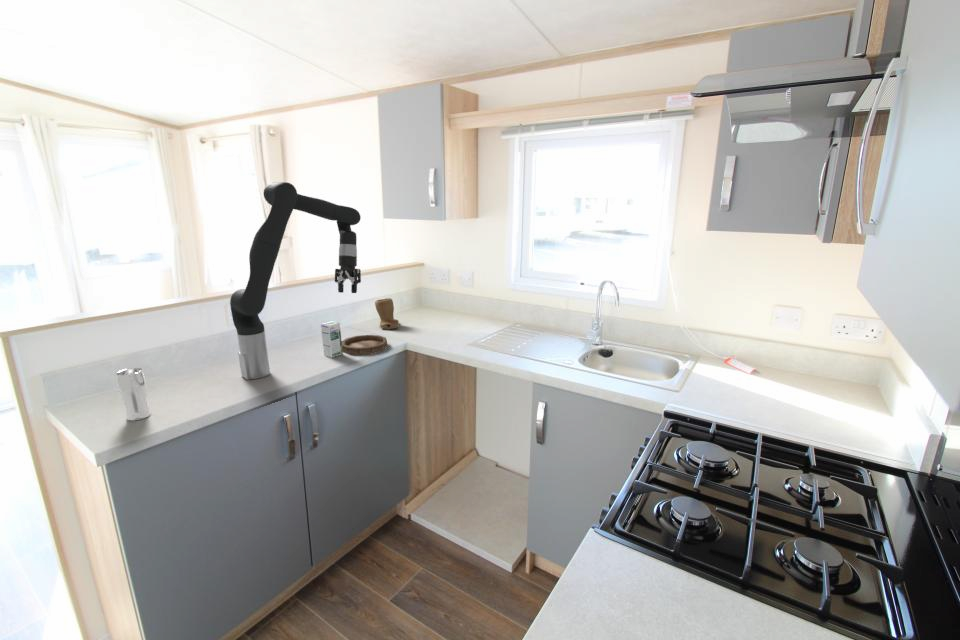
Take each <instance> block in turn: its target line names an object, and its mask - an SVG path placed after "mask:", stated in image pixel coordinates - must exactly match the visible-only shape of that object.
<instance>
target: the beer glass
mask: <svg viewBox="0 0 960 640" xmlns="http://www.w3.org/2000/svg"><path fill="white" fill-rule="evenodd" d="M115 377H116V384H117V389H118V394H119V395H120V397H121V400H122V401H123V404H124V407H125V410H126V411H125V412H126V420H127V421H129V420H130V421H129V422H135V420H137V421H139V420H144V419H146V417H147V418H149V417H150V416H151V414H152V412H151V410H150V408H149V406H148V400H147V397H148V395H147V394H148V393H147V392H148V387H147V380H146V377H145V374H144V369H143V368H141V367H131V368H130V367H129V368H125V369H122V370H119V371H117V372H116V373H115Z"/></svg>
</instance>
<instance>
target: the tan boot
mask: <svg viewBox="0 0 960 640" xmlns="http://www.w3.org/2000/svg"><path fill="white" fill-rule="evenodd" d="M374 306H375V309H376V312H377V314H378V316H379V318H380V323H379V327H380V328H382V329H384V330H394V329H396V328H398V327H399V319H395V317H394V311H395V306H394V301H393V299H392V298H390V297H386V298H382V299H377V300H375V301H374Z"/></svg>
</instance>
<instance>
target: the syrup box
mask: <svg viewBox="0 0 960 640" xmlns="http://www.w3.org/2000/svg"><path fill="white" fill-rule="evenodd" d="M320 328H321V329H320V330H321V331H320V332H321V338H322V348H323V356H325V357H327V356H328V358H330V357H331V359H333V358H335V356H336V357H339V356H342V355H343V354H344V352H343V351H342V341H343V340H342V334H341V333H342V331H341V323H340V322H339V321H334V320H333V321H332V320H331V321H327V322H324V323H321V324H320ZM332 357H333V358H332Z"/></svg>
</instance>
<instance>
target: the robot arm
mask: <svg viewBox="0 0 960 640" xmlns="http://www.w3.org/2000/svg"><path fill="white" fill-rule="evenodd" d="M263 197H264V198H263V199H264V200H265V201H266V202H267V204H269V205H270V206H271V207H270V211H269V213H268V216H267V218H266V219H265V220H264V222H263V223H262V224H261V226H260V227H259V229H258V230H257V232H256V233H255V234H254V238H253V240H252V244H251V246H250V249H249V257H248V258H249V278H248V281H247V284H246V287H245V288H240V289H237V290H236V291H234V292H233V293H232V294H231V296H230V300H229V305H230V310H231V312H230V313H231V317H232V322H233V325H234V327H235V330H236V333H237V340H238V348H239V352H237V354H238V361H239V367H240V373H241V377H243V378H244V379H246V380H247V381H249V380H256V379H257V380H259V379H262V378H265V377H267V376H269V375H270V373H271V371H270V369H271V368H270V362H269V361H270V360H269V355H268V353H269V352H268V348H267V347H268V345H267V338H266V331H265V325H264V322H262V320H261V318H260V316H259V314H260V313H262V311H264V310H263V309H265V308H264V307H265V304H266V301H267V296H268V289H269V284H270V280H271V277H272V274H273V270H274V268H275V264H276V262H277V258H278V256H279V252H280V248H281V245H282V241H283V238H284V236H285V231H286V229H287V225H288V222H289V220H290V217H291V215H292V214H293V211H294V210H295V211H296V210H297V211H300V212H304V213H305V214H306V213H307V214H310V215H313V216H316V217H319V218H323V219H325V220H329V221H336V225H337V229H338V230H337V231H338V234H339V245H338V246H339V248H338V266H339V267H340V268H335V269H334V283H336V284H337V291H338V293H342V294H343V293H344V283H345V281H346V280H349V281H350V282H351V289H350V290H351V294H356V293H357V291H358V284H360V283H361V282H362V279H361V278H362V277H361V271H362V270H361V269H360V268H356V267H357V265H358V264H357V263H358V249H357V238H358V237H357V232H355V231H352V228H351V226H355V225H357V224H359V223H360V222H361V214H360V212H359V211H358V210H357V209H356V208H355V207H354V208H353V207H350V206H347V205H346V206H345V205H340V204H336V203H333V202H330V201H327V200H324V199H322V198H321V199H320V198H317V197H313V196H307V195H303V194H300V193H298V191H297V189H296V186H294V185H293V184H292V183H291V182H286V181H278V182H275V181H274V182H272V183H269V184H267V185H266V186H265V188H264V189H263Z"/></svg>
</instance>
